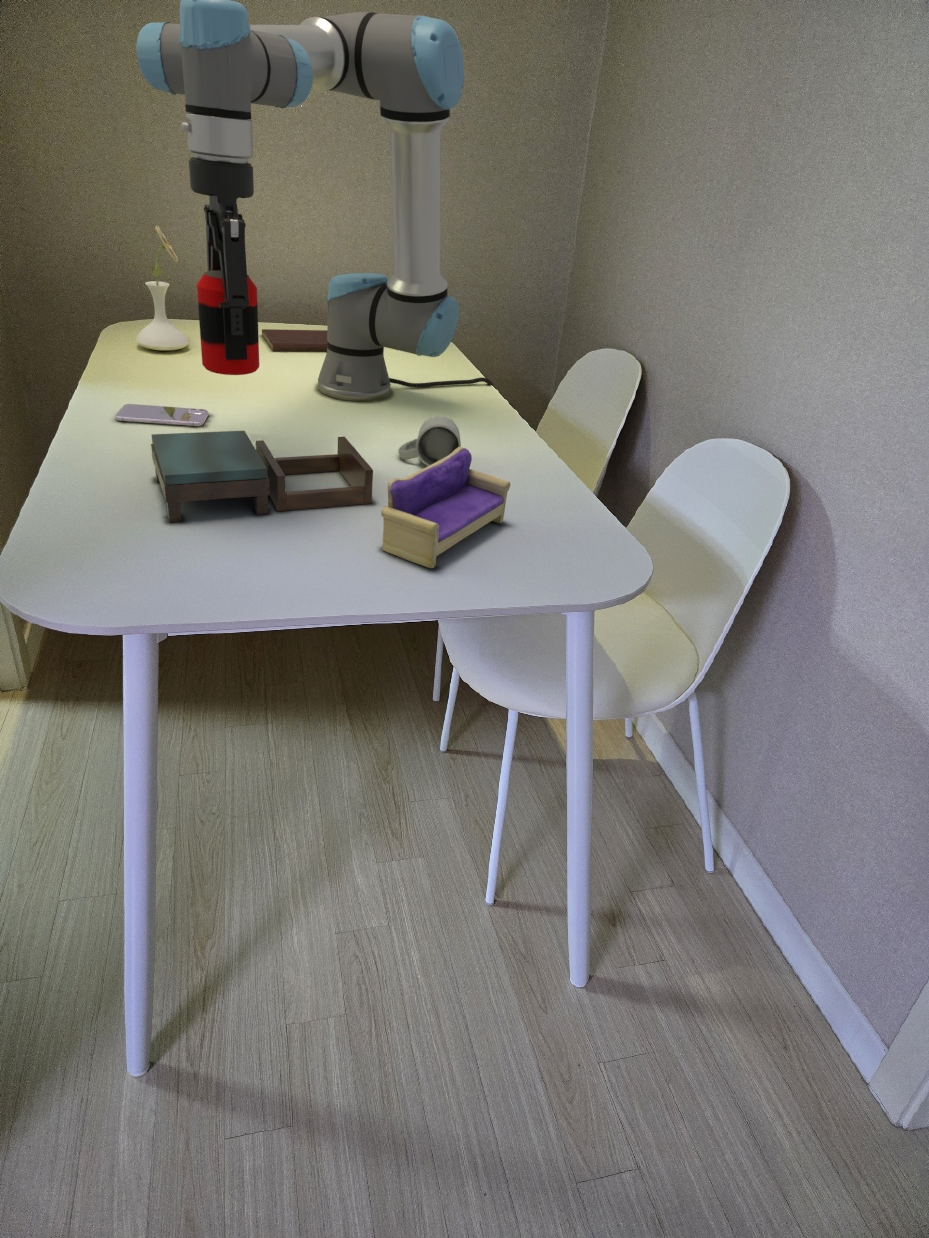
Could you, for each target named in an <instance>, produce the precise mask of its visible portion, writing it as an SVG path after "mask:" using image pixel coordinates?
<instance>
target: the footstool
mask: <svg viewBox="0 0 929 1238" xmlns="http://www.w3.org/2000/svg"><path fill="white" fill-rule="evenodd" d="M150 449H151V450H150V451H151V457H152V463H153V466H154V471H155V480H156V483H159V485H160V488H161V491H162V493H163V497H164V500H165V503H166V511H167V519H168V521H169V523H177V522H178V523H179V522H183V520H182V509H181V503H185V502H197V501H211V500H212V501H213V500H223V499H236V498H237V499H238V498H250V497H251V498H252V497H254V511H255V513H256V515H258V516H260V515H269V495H270V492H269V478H268V476H267V468H266V466H265V464H264V463H263V461H262V459H261V458H260V456H259V454H258V453H257V451H256V446H254V444H253V443H252V440H251V439H250V438H249V435H248V434H247V432H246V431H245V430H224V431H223V430H222V431H199V432H197V431H196V432H178V433H177V432H176V433H173V432H172V433H155V434H154V433H152V434H151V443H150Z"/></svg>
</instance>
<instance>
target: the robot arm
mask: <svg viewBox="0 0 929 1238" xmlns="http://www.w3.org/2000/svg"><path fill="white" fill-rule="evenodd" d="M135 50H136V51H135V52H136V59H137V64H138V65H137V66H138V68H139V70H140V73H141V75H142V76H143V78H144V80H145V81H146V82H147V83H148V84H149V85H150V86H151V87H152V88H154V90H157V91H161V92H165V93H170V94H171V95H184V99H185V101H184V102H185V103H184V104H185V105H184V109H185V112H186V114H185V118H186V120H187V121H183V122H181V124H180V126H181V130H182V132H185V133H187V136H186V137H187V149H188V150H189V152H191V153H193V156H192V157H190V158H189V160H188V171H189V184H190V185H189V186H190V189H191V191H192V192H194V193H195V194H199V195H202V196H209V197H208V202H209V203H207V204H206V203H205V204H204V206H203V212H204V219H205V236H206V237H205V238H206V240H205V241H206V263H207V264H206V265H207V271H215V270H221V275H222V283H223V292H224V303H223V302H220V303H219V308H223V321H224V340H225V358H226V360H247V337H246V311H245V309H246V307H248V306H249V297H248V282H247V275H248V268H247V252H246V225H247V223H246V221H245V219H243V214H242V213H239V209H238V203H237V202H238V201H237V200H238V199H249V198H252V197H253V196H254V194H255V187H254V182H255V181H254V167H253V166H252V164H251V163H250V162H249V159H252V158H253V157H254V142H253V141H254V139H253V120H252V104H253V105H260V106H266V107H267V106H268V107H274V108H279V109H282V110H283V109H286V108H296V107H298V106H300V105H301V104H303V103H304V102H305V101H306V100H307V99H308V97H309V95H310V93H311V90H314V91H317V92H318V91H319V92H327V91H329V92H330V91H331V92H334V93H335V92H336V93H340V94H346V95H350V96H354V97H359V98H363V99H369V100H375V101H379V111H380V113H379V114H380V115H379V116H380V118H381V119H382V121H383V122H384V123H385V125H387V126H388V128H389V137H390V138H389V143H390V144H389V145H390V147H389V148H390V175H391V177H390V178H391V179H390V180H391V206H392V207H391V208H392V239H393V271H394V272H393V274H392V275H391V276H390V277H389V278H388V276H387V275H386V274H382V273H376V272H375V273H374V272H359V273H358V272H357V273H344V274H338V275H334V276H333V277H332V278H331V279H330V280H329V282H328V288H327V297H326V301H327V318H326V319H327V323H326V324H327V326H326V327H327V352H326V353H325V354H326V355H325V357H324V359H323V363H322V366H321V369H320V370H319V371H320V372H319V375H318V378H317V390H318V391H319V392H320V393H322V394H323V395H325V396H327V397H331V398H334V399H338V400H344V401H350V402H351V401H352V402H372V401H379V400H382V399H386V398H387V397H389V396H390V395H391V385H392V384H395V385H396V384H397V385H399V386H403V387H408V388H414V389H415V388H416V389H417V388H418V389H419V388H430V387H441V386H443V387H444V386H457V385H474V384H476V383H486V384H487V386H494V383H493V382H492V381H491V380H490V379H489V378H487V377H476V378H472V379H457V380H439V381H429V382H408V381H405V380H401V379H398V378H397V379H396V378H392V377H390V376H389V372H388V368H387V364H386V361H385V355H384V351H385V348H387V349H391V350H395V351H398V352H399V351H400V352H404V353H407V354H413V355H416V356H418V357H422V356H424V357H429V358H437V357H440V356H441V355H443V353H445V352H446V350H447V349H448V348H449V346H450V345H451V342H452V341H453V338H454V336H455V333H456V330H457V327H458V322H459V314H460V306H459V302H458V300H457V299H456V298H455V297H453V296H451V295H448V293H449V292H448V287H449V286H448V285H449V284H448V281H447V280H446V278H445V277H444V276H443V275H441V143H442V142H441V135H442V134H441V132H442V128H443V127H444V126H445V125H446V123H448V122H449V120H450V117H451V109H454V108H456V106H457V105H458V104H459V102H460V101H461V98H462V94H463V91H462V89H463V88H464V85H465V84H464V83H465V64H464V63H465V62H464V55H463V49H462V46H461V43H460V40H459V37H458V35H457V34H456V31H455V30H454V27H452V26H451V24H450V23H448V22H447V21H446V20H443V19H440V18H434V17H431V16H427V15H422V14H421V15H420V14H419V15H418V14H417V15H414V14H397V13H383V12H382V13H380V12H373V11H355V12H347V13H341V14H334V15H327V16H312V17H311V16H310V17H308V18H306V19H304V20H302V21H301V22H300V23H299V24H250V22H249V13H248V10H247V8H246V7H245V6H244V4H241V3H240V2H238V1H234V0H180V3H179V23H171V22H170V21H162V22H149V23H147V24H145V25H143V27H142V28H141V29H140V30H139V33H138V36H137V39H136V44H135ZM234 295H239V296H234Z"/></svg>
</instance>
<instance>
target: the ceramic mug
mask: <svg viewBox="0 0 929 1238" xmlns="http://www.w3.org/2000/svg"><path fill="white" fill-rule="evenodd" d="M461 440H462V439H461V433H460V430H459V427H458V425H457V424H456V423H455V421H453V420H452V419H451V418H450V417H447V416H444V415H435V416H434V415H433V416H431V417H429V418H428V419H426V420H425V421H424V422H423V423H422V425H421V426H420V427H419V430H418V435H417V438H415V439H413V440H409V441H407V442H405V443H404V444H402V445H401V446H400V447H399V448H398V449H397V450H398V454H399V457H400V459H401V460H411V459H415V458H418V459H419V460H420V461H421V462H422V463H423V464H424V465H425V466H426V467H428V466H430V465H432V464H434V463H436V462H437V461H439V460H441V459H443V458H445V457H447V456H448V455H450V454H451V453H452V452H453V451H454V450H456V449H457V448H458V447H462V443H461V442H462V441H461Z"/></svg>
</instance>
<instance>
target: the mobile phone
mask: <svg viewBox="0 0 929 1238" xmlns="http://www.w3.org/2000/svg"><path fill="white" fill-rule="evenodd" d="M209 413H210V412H209V410H208V409H204V408H194V407H193V408H191V407H180V406H179V407H178V406H164V405H152V404H151V405H150V404H138V403H137V404H136V403H126V404H124V405H123V406H122V407H120V409H119V411H117V413H116V414H115V419H116V421H119V422H133V423H148V424H161V425H174V426H187V427H189V426H191V427H202V426H203V425H204V424H205V422H206V420H207V418H208V416H209Z"/></svg>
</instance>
